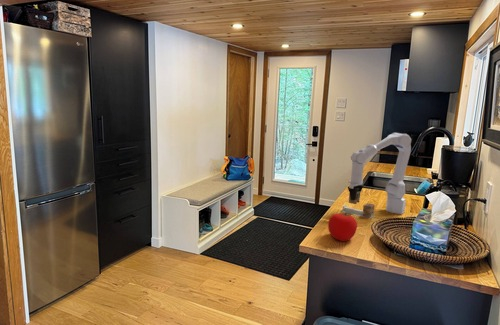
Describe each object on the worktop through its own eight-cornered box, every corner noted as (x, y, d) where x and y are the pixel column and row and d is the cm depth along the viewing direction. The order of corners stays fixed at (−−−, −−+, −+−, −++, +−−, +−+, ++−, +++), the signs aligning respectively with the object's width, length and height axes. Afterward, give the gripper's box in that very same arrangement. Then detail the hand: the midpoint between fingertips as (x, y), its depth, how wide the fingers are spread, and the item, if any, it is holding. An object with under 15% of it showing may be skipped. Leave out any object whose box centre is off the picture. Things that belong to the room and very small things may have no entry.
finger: (362, 215, 176) (363, 205, 175) (365, 213, 180) (366, 202, 179) (370, 217, 174) (371, 206, 173) (373, 215, 178) (374, 204, 177)
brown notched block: (359, 202, 181) (360, 191, 180) (356, 204, 178) (357, 193, 176) (352, 200, 184) (353, 190, 183) (348, 202, 180) (349, 191, 179)
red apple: (325, 241, 144) (327, 216, 142) (329, 230, 157) (331, 207, 155) (354, 246, 140) (357, 220, 138) (356, 234, 153) (358, 211, 151)
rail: (374, 216, 178) (375, 210, 178) (370, 220, 173) (371, 213, 172) (346, 209, 188) (346, 204, 187) (341, 212, 182) (341, 206, 182)
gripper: (354, 171, 186) (352, 194, 188) (344, 175, 175) (342, 200, 177) (367, 173, 182) (364, 197, 184) (357, 177, 170) (355, 202, 173)
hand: (354, 198), depth 180 cm, fingers closed on brown notched block, 5 cm apart
